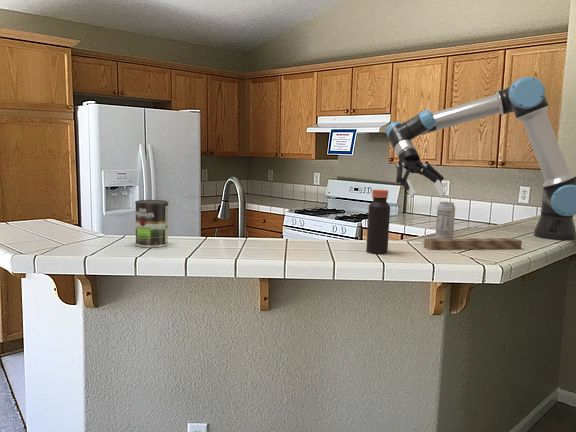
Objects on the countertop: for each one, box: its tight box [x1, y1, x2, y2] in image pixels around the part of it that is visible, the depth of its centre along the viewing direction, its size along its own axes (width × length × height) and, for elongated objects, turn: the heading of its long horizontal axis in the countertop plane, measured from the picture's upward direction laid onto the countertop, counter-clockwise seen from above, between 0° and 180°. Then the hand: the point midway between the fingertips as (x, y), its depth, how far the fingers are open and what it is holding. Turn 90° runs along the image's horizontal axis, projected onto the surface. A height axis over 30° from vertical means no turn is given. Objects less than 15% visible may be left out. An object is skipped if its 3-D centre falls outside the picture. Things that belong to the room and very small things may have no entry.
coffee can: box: [134, 199, 169, 249], centre depth 165 cm, size 10×10×14 cm
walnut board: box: [423, 237, 523, 251], centre depth 177 cm, size 34×5×3 cm, turn 101°
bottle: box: [365, 189, 391, 255], centre depth 164 cm, size 7×7×20 cm
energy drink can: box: [434, 201, 456, 238], centre depth 183 cm, size 6×6×15 cm
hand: (428, 195), depth 191 cm, fingers open, 13 cm apart
